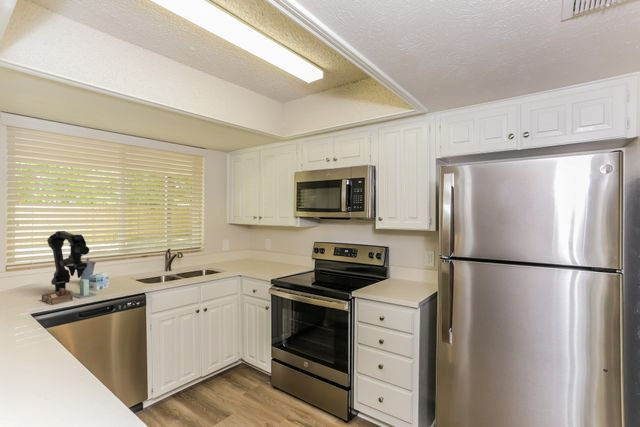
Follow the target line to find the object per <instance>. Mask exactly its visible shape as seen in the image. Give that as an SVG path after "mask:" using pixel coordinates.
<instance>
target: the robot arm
mask: <svg viewBox="0 0 640 427" xmlns="http://www.w3.org/2000/svg"><path fill="white" fill-rule="evenodd" d="M46 241H47V245H48V247H49V248H50V249H51V250H52V253H53V259H54V265H55V272H54V274H53V277H52V279H51V281H50V283H51V285H53V286H54V292H59V288H63V289H67V287H66V286H67V284H68V283H70V280H71V277H73V276H75V273H76V274H77V278H78V279H81V275H82V273H83V271H84V270H85V268H86V267H87V263H85V262H82V261H83V260H82V257H83V256H85V255H88V254H89V252H90V248H89V246H87V241H86V239H85V238H84V236H83V235H82V234H74V233H71V232H68V231H66V230H57V231H55V233H54V234H51V235H49V237H48V238H47V240H46ZM65 241H67V242H68V243H69V245H68V246H69V248H70V251H69V252H70V254H69V255H68V257H67V258H64V255H63V246H64V242H65ZM67 268H68V269H67Z"/></svg>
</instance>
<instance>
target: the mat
mask: <svg viewBox="0 0 640 427" xmlns="http://www.w3.org/2000/svg"><path fill="white" fill-rule="evenodd" d="M73 296H74V297H73V298H77V299H85V298H90V297H95V296H98V294H96V293H93V292H90V291H89V295H86V296H82V295H80V293H77V294H73Z"/></svg>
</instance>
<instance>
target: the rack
mask: <svg viewBox="0 0 640 427" xmlns="http://www.w3.org/2000/svg"><path fill="white" fill-rule="evenodd" d="M53 294H56V295H57V297H54V298H50V295H53ZM73 295H74V294H73V290H70V289H67V288H66V289H63V288H59V292H55V291H53V292H49V293H43V294H41V302H43V301H45V302H44V303H46V302H48V303H47V304H49V303H51V304H50V305H52V306H53V305H59V304H64V303H68V301H69V302H72V301H73V298H74V297H73Z"/></svg>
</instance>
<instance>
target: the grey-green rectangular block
mask: <svg viewBox="0 0 640 427" xmlns="http://www.w3.org/2000/svg"><path fill="white" fill-rule="evenodd" d="M89 292H90V285H89V280H87V279H82V280H80V279H79V294H80V295H82V296H86V295H89Z"/></svg>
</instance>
